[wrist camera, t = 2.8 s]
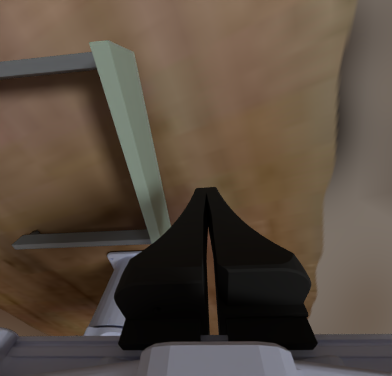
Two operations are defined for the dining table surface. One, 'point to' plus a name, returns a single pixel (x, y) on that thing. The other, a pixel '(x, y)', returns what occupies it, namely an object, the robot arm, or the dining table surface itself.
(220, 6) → the dining table surface
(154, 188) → the grey u-shaped frame
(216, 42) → the dining table surface
